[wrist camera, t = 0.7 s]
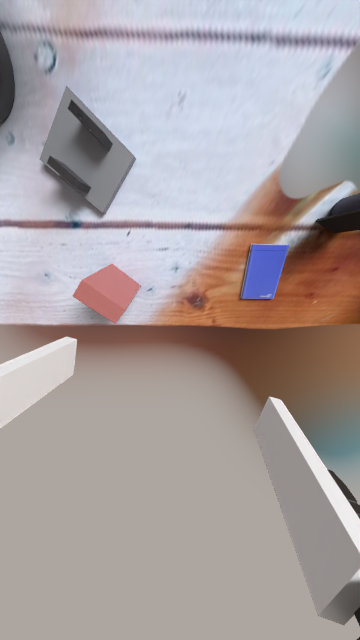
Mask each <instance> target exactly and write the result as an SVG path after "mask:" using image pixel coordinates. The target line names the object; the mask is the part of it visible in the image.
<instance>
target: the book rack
mask: <svg viewBox="0 0 360 640" xmlns="http://www.w3.org/2000/svg"><path fill="white" fill-rule="evenodd" d="M40 160H41V161H42V162H43V163H44V164H46V165H47V166H48V167H49V168H50V169H51V170H53V171H54V172H55V173H56V174H57V175H58V176H60V177H61V178H62V179H63V180H64V181H66V182H67V183H68V184H69V185H70V186H71V187H73V188H74V189H75V190H76V191H77V192H78V193H80V194H81V195H82V196H83V197H84V198H86V199H87V200H88V201H89V202H90V203H91V204H93V205H94V206H95V207H96V208H97V209H98V210H100V211H101V212H102V213H106V211H107V210H108V208H109V206H110V204H111V202H112V201H113V199H114V197H115V195H116V193H117V192H118V190H119V188H120V186H121V185H122V183H123V181H124V179H125V177H126V176H127V174H128V172H129V170H130V169H131V167H132V165H133V163H134V161H135V160H136V158H135V157H134V155H133V154H132V153H131V152H130V151H129V150H128V149H127V148H126V147H125V146H124V145H123V144H122V143H121V142H120V141H119V140H118V139H117V138H116V137H115V136H114V135H113V134H112V132H111V131H110V130H109V129H108V128H107V127H106V126H105V125H104V124H103V123H102V122H101V121H100V120H99V119H98V118H97V117H96V116H95V115H94V114H93V113H92V112H91V111H90V110H89V109H88V108H87V107H86V106H85V105H84V104H83V103H82V101H81V100H80V99H79V98H78V97H77V96H76V95H75V94H74V93H73V92H72V91H71V90H70V89H69V88H68V87H67V86H66V89H65V91H64V94H63V97H62V100H61V102H60V105H59V108H58V111H57V113H56V116H55V119H54V121H53V124H52V127H51V130H50V132H49V135H48V138H47V141H46V143H45V146H44V149H43V152H42V154H41V157H40Z"/></svg>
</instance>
